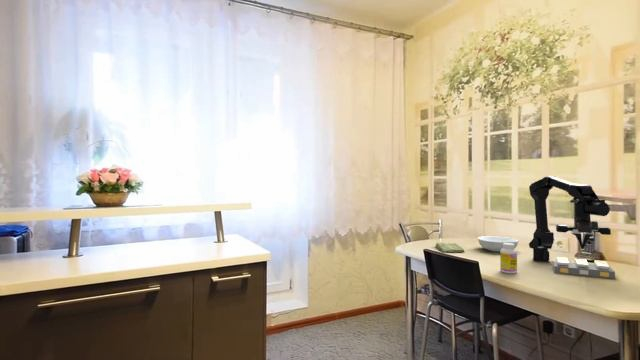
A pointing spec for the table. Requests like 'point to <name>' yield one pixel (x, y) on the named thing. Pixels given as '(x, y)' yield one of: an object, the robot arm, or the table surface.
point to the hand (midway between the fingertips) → (582, 249)
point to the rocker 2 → (581, 262)
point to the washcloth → (449, 247)
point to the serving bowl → (495, 242)
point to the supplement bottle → (508, 258)
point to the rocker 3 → (601, 264)
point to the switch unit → (583, 270)
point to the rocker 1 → (562, 261)
